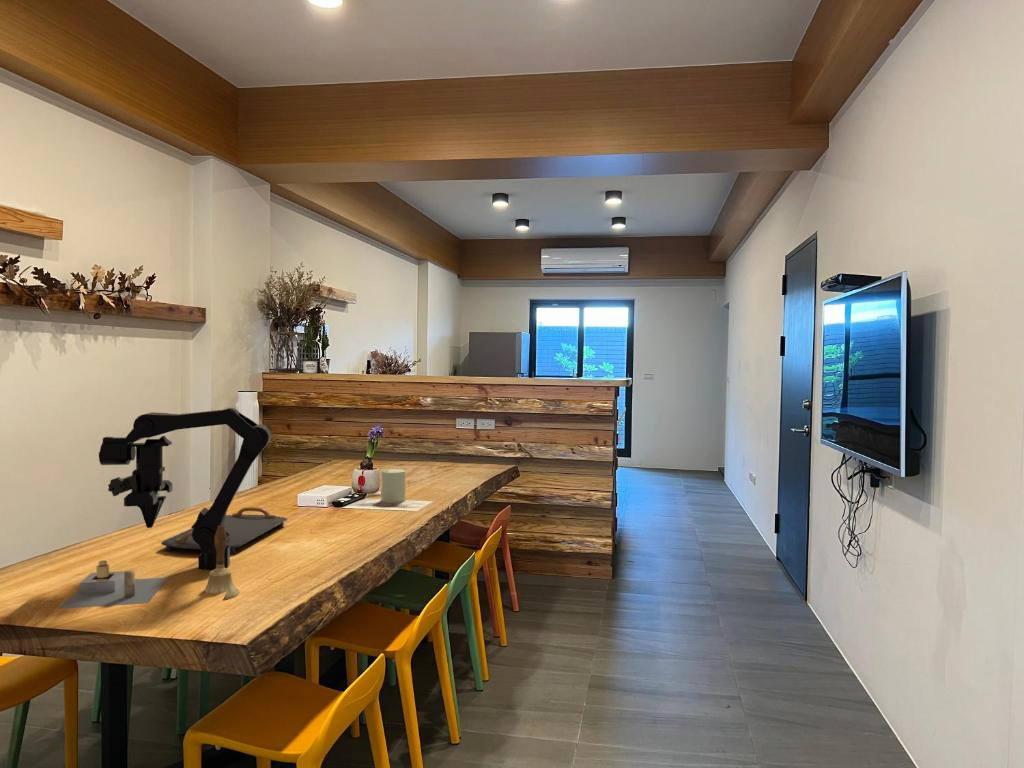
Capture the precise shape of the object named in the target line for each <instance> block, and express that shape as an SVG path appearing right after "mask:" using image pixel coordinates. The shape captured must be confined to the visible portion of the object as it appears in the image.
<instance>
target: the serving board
mask: <svg viewBox="0 0 1024 768" xmlns="http://www.w3.org/2000/svg"><path fill="white" fill-rule="evenodd" d="M243 512H259V513H262V514H243ZM286 521H288V518H286V517H284V516H276V515H275V514H271V513H270V511H268V510H267V509H266V508H263V507H260V506H259V507H258V506H246V507H242V508H241V509H239V510H238V512H234V513H232V514H226V516H225V520H224V523H223V525H224V528H225V531H227V532H228V533H229V534H230V535H231V537H230V539H229V542H228V543H227V544H226V545H230V555H234V554H236V548H240V547H241V546H244V545H245V544H248V542H250V541H252V540H254V539H256V538H258V537H259V536H262V535H263V534H265V533H266V532H269V531H271V530H272V529H274V528H276V527H279V528H280V527H284V526H285V523H286ZM193 529H194V528H188V530H186V531H183V532H180V533H179V534H176V535H174V536H172V537H168V538H167V539H164V540H162V542H161V543H160V545H162V546H165V549H164V550H165V552H173V551H174V548H175V549H177V548H178V549H185V550H201V548H200V546H199V544H197V543H196V542H195V541H194V540H193V537H192V531H193Z"/></svg>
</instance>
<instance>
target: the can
mask: <svg viewBox="0 0 1024 768" xmlns="http://www.w3.org/2000/svg"><path fill="white" fill-rule="evenodd" d="M406 471H407V470H405V469H401V468H388V469H387V468H386V469H381V497H380V501H381V503H385V504H399V503H404V502H405V501H406Z"/></svg>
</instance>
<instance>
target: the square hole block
mask: <svg viewBox="0 0 1024 768" xmlns="http://www.w3.org/2000/svg"><path fill="white" fill-rule="evenodd" d="M125 571H126V570H124V571H123V570H121V571H118V570H117V571H109V579H99V580H97V572H91V573H90V574H88V575H87V576H85V578H84V579H82V580H81V581H80V582H79V588H78V589H79V590H80V594H90V593H107V592H115V591H116V590H117V589H118V588H119V587H121V586H122V585H123V584H124V572H125Z"/></svg>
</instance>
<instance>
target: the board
mask: <svg viewBox="0 0 1024 768" xmlns="http://www.w3.org/2000/svg"><path fill="white" fill-rule="evenodd" d="M168 580H169V577H167V576H166V577H154V578H153V577H152V578H151V577H150V578H135V596H134V597H131V598H125V597H124V584H123V585H122V586H121V587H119V588H118V589H117V590H116V591H115V592H107V593H90V594H80V589H79V590H77V592H75V593H74V594H73V595H71V596H70V597H69V598H68V599H67V600H66V601H65V602H63V604H61V605H60V606H59V607H58V608H57V610H59V609H74V608H75V609H76V608H91V607H92V608H93V607H108V606H123V605H140V604H149V603H150V601H151V600H152V599H153V598H154V596H156V594H157V593H158V592H159V591H160V589H161V588H162V587H163V586H164V585H165V583H166V582H167V581H168Z"/></svg>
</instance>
